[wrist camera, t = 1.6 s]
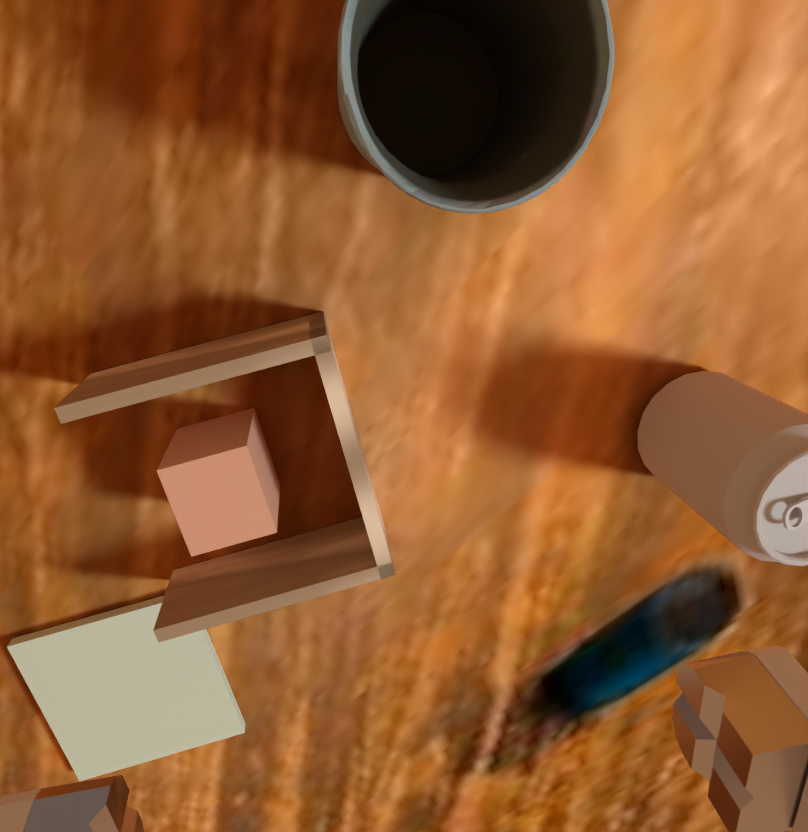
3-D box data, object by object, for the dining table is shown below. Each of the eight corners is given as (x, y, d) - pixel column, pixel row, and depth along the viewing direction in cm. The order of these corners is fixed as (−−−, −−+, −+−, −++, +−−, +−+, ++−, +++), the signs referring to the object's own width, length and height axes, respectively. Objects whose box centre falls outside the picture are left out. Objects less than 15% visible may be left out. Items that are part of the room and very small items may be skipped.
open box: (383, 522, 43) (395, 574, 38) (177, 581, 43) (158, 642, 37) (323, 311, 39) (326, 334, 33) (90, 373, 38) (54, 408, 32)
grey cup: (380, -60, 33) (420, -178, 22) (556, 51, 36) (671, -4, 25) (293, 144, 36) (288, 130, 24) (464, 234, 38) (531, 259, 27)
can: (750, 457, 45) (897, 550, 34) (642, 495, 45) (754, 601, 34) (735, 350, 43) (889, 413, 32) (620, 390, 43) (733, 467, 31)
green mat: (245, 723, 47) (244, 732, 46) (83, 771, 46) (79, 781, 46) (189, 588, 43) (187, 595, 42) (11, 638, 43) (6, 646, 42)
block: (280, 484, 42) (276, 532, 36) (206, 504, 42) (191, 556, 36) (254, 407, 40) (246, 445, 34) (177, 428, 40) (156, 470, 34)
